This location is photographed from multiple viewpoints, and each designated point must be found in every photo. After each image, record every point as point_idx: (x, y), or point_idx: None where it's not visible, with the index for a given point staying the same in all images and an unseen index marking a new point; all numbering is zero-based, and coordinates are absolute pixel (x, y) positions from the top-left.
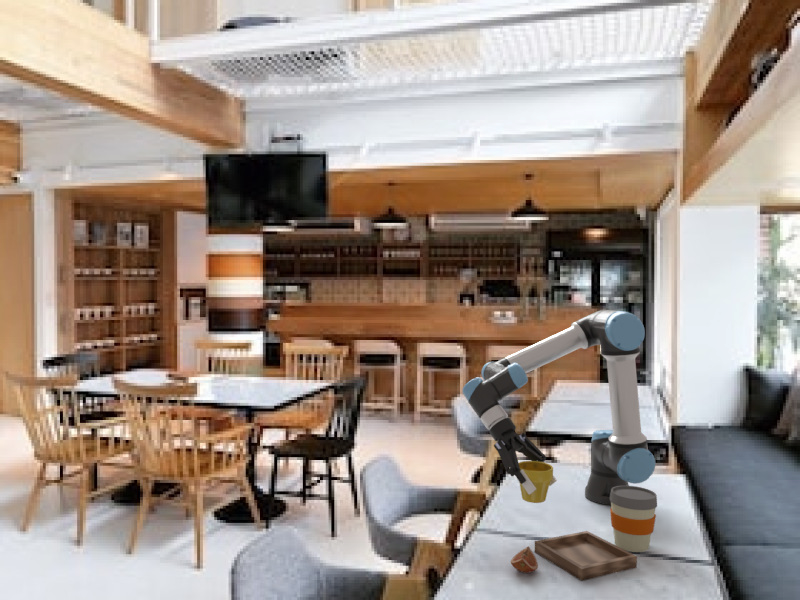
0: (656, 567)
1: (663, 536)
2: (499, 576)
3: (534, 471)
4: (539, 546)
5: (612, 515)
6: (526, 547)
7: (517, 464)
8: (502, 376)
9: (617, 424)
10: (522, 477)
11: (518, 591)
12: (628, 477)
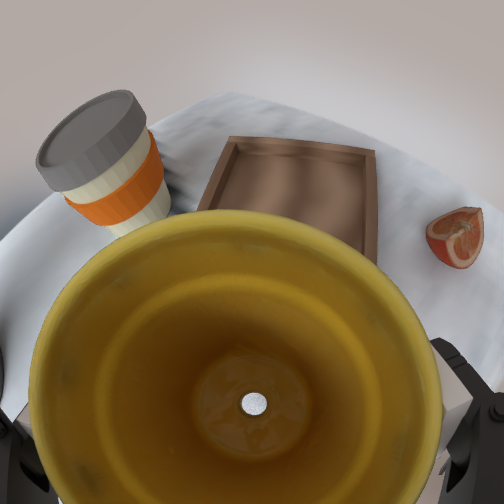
0: (205, 143)
1: (74, 211)
2: (492, 257)
3: (382, 274)
4: None
5: (137, 181)
6: (446, 246)
7: (500, 462)
8: None
9: None
10: (453, 360)
11: (483, 204)
12: None
